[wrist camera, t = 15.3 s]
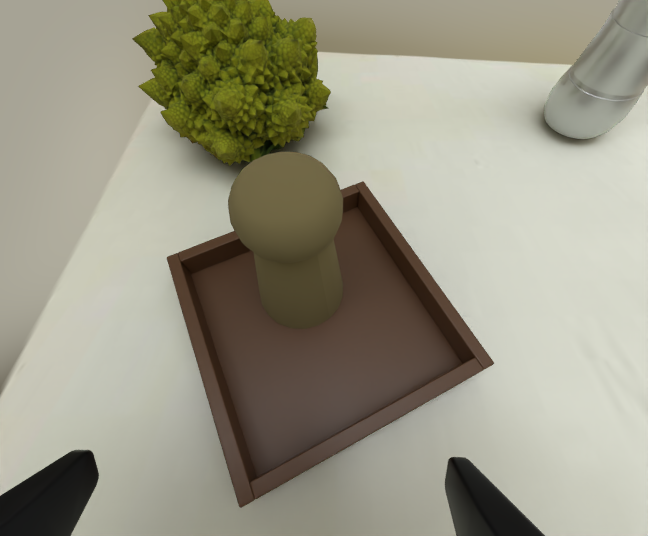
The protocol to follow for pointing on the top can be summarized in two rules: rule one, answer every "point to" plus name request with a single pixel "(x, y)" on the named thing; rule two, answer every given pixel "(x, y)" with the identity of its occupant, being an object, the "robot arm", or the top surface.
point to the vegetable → (233, 75)
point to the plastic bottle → (603, 76)
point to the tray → (319, 349)
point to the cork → (291, 235)
